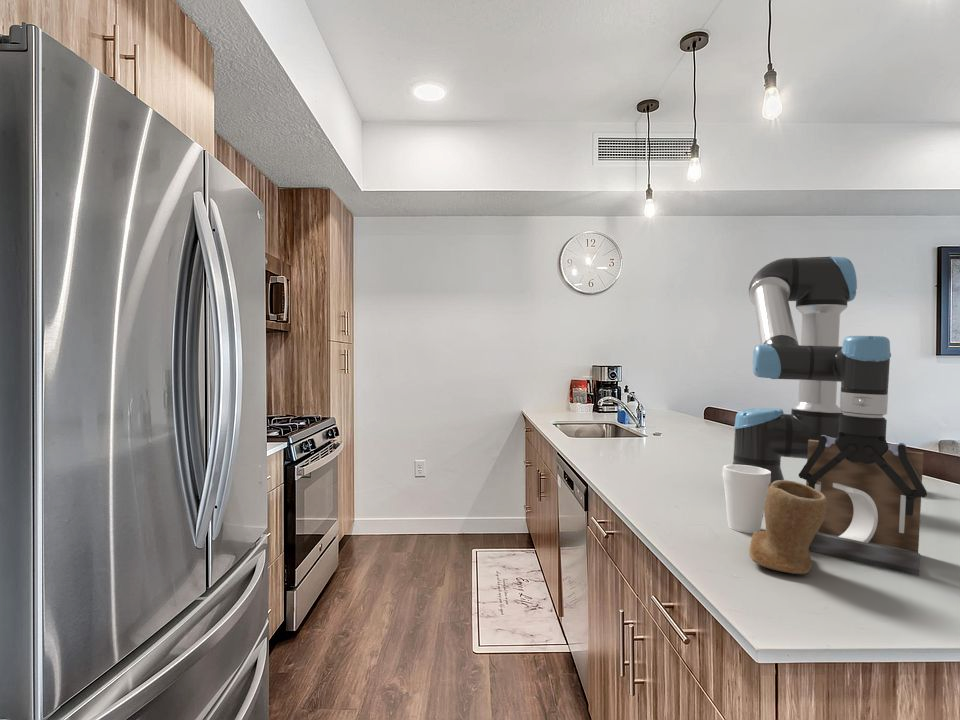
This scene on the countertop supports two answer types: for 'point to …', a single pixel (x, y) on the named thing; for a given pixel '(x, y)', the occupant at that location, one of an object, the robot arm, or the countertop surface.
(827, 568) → the countertop surface
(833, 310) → the robot arm
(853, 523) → the white curved saddle bracket
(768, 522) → the tan suede boot
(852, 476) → the board
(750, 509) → the foam cup
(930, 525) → the countertop surface
